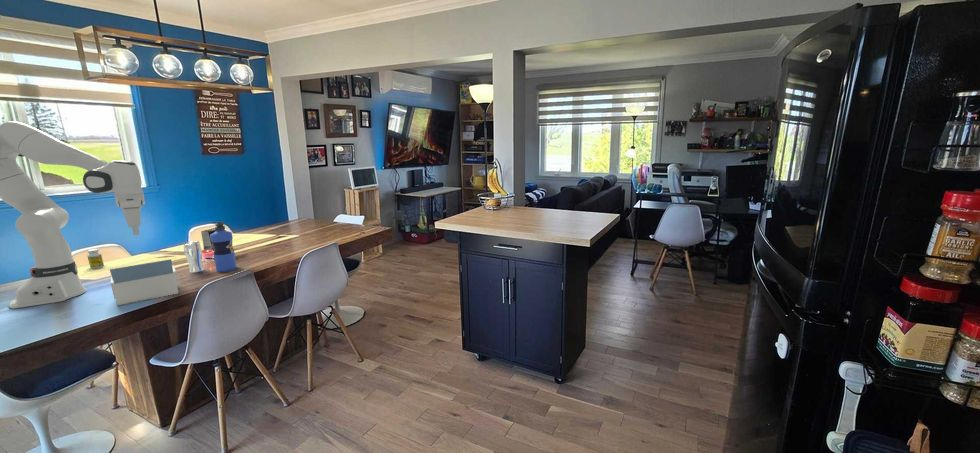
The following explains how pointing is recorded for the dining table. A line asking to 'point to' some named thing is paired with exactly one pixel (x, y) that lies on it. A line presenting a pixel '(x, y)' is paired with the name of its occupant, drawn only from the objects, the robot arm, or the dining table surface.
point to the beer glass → (193, 256)
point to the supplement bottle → (95, 258)
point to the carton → (145, 288)
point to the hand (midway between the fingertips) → (136, 234)
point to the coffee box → (207, 239)
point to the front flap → (141, 271)
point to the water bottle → (223, 249)
